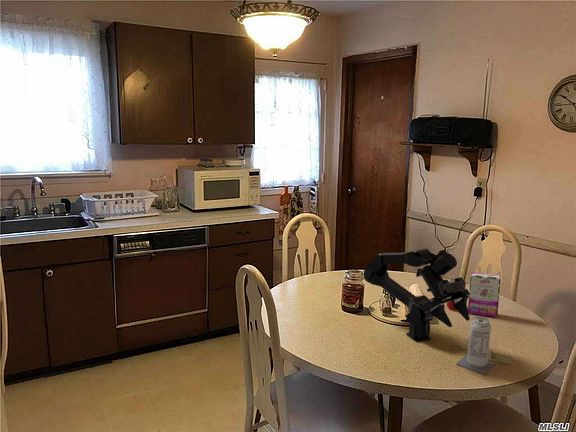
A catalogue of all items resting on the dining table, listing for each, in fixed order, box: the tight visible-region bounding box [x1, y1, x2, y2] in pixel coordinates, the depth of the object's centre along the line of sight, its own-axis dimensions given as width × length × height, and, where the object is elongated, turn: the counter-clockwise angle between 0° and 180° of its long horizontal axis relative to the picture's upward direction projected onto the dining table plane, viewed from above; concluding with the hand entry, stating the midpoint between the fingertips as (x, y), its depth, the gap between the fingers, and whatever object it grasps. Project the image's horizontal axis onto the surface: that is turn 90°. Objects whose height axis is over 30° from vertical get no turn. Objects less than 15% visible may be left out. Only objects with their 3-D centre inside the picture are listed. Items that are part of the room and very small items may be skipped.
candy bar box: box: [467, 271, 502, 318], centre depth 191 cm, size 11×5×16 cm, turn 68°
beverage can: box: [446, 278, 466, 312], centre depth 196 cm, size 7×7×12 cm
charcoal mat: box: [455, 353, 496, 376], centre depth 152 cm, size 9×9×1 cm
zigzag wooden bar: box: [460, 339, 512, 366], centre depth 158 cm, size 16×4×3 cm, turn 48°
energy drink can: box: [467, 316, 492, 368], centre depth 150 cm, size 6×6×15 cm
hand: (459, 323), depth 156 cm, fingers open, 9 cm apart
